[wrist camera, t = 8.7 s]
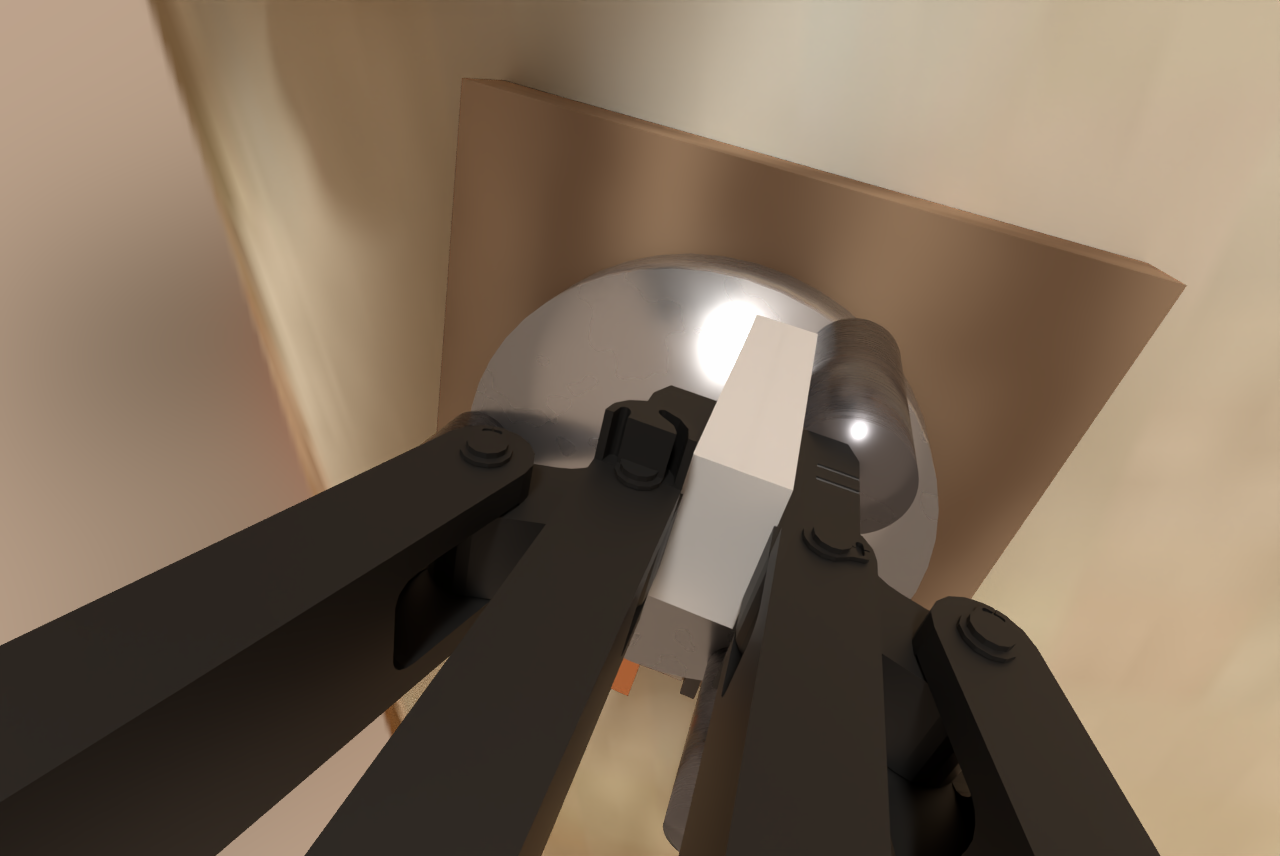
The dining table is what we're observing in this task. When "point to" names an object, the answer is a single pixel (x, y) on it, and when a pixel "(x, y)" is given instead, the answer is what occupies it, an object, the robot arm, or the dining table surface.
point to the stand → (822, 258)
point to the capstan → (701, 363)
